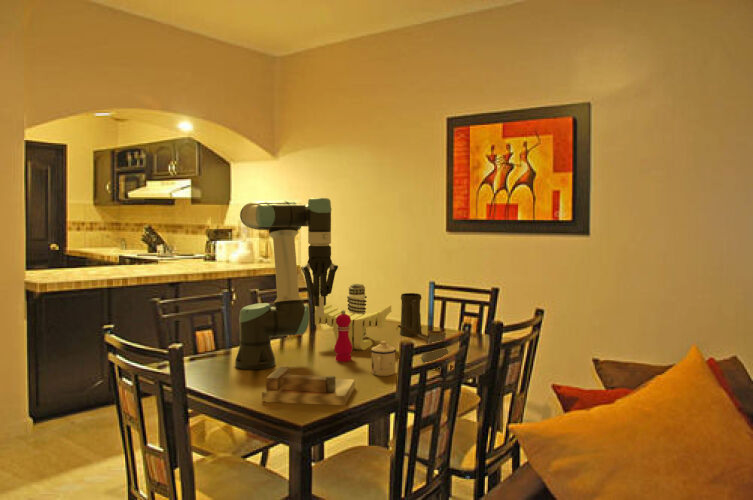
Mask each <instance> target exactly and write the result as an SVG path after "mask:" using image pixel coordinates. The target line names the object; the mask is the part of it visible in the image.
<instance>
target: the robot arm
mask: <svg viewBox="0 0 753 500" xmlns="http://www.w3.org/2000/svg"><path fill="white" fill-rule="evenodd" d="M331 203H332V202H331V199H330V198H327V197H325V198H324V197H310V198H309V199H308V200H307V203H306V204H298V203H296V202H295V201H290V200H289V201H288V200H257V201H256V200H255V201H252V202H249V203H246V204H245V205H244V206H243V207H242V208H241V210H240V212H239V213H240V214H239V217H240V220H241V223H242V224H243V225H244V226H245V227H247V228H250V229H252V230H258V231H268V236H269V237H270V238H272V241H273V257H274V268H275V270H274V272H275V284H276V299H275V300H274V301H273V306H272V305H271V303H268V302H263V303H261V302H260V303H253V304H249V305H246V306H244V307H242V308H241V309H240V310H239V317H238V318H239V319H238V322H239V348H238V349H237V354H236V356H235V360H234V361H235V362H234V363H235V365H234V366H235V368H237V367H238V368H237V369H239V368H241V369H240V370H245V369H248V370H250V371H253V370H254V371H255V370H265V369H270V368H272V367H274V366H276V357H275V354H274V351H273V348H272V343H271V338H274V337H288V336H293V337H294V336H297V335H303V334H305V332H307V329H308V327H309V323H310V309H309V305H308V304H306V303H304V299H303V298H302V297H301V296H300V292H299V278H298V265H297V264H298V263H297V251H296V242H295V241H296V240H295V239H296V238H295V237H296V236H297V235H298V234H299V230H301V228H302V227H306V228H307V231H308V233H307V234H308V235H307V236H308V237H307V241H308V243H307V244H309V245H308V247H307V248H308V249H307V250H308V251H307V252H308V253H307V255H308V259H307V264H305V265H304V266H303V265H302V266H301V267H300V270H301V271H302V273H303V276H304V280H305V283H306V284H305V285H306V289H307V293H308V295H311V296H313V305H314V307H315V311H316V315H317V316H324V306H325V305H326V303H327V297H328V296H329V295H330V294H332V292H333V291H332V290H333V285H334V281H335V276H336V273H337V270H339V269H338V268H339V266H338V265H336V264H335V263H333V260H332V258H331V257H332V246H331V245H330V244H331V243H332V205H331ZM310 271H312V273H311V272H310ZM248 370H247V371H248Z"/></svg>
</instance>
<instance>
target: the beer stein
mask: <svg viewBox="0 0 753 500" xmlns="http://www.w3.org/2000/svg"><path fill="white" fill-rule="evenodd" d="M400 300H401V307H400V308H401V312H400V326H402V327H405V328H407V329H410V330H412V331H414V332H416V333H417V334H419V335H421V336H423V335H422V334H423V331H422V323H421V322H422V319H421V316H422V315H421V301H422V295H421V294H420V293H415V292H414V293H413V292H410V293H408V292H406V293H401V295H400ZM399 328H400V327H399ZM399 335H400V336H404V337H417V336H416V335H414V334H411V333H409V332H407V331H406V330H404V329H402V328H400V330H399Z"/></svg>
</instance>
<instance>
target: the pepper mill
mask: <svg viewBox="0 0 753 500" xmlns="http://www.w3.org/2000/svg"><path fill="white" fill-rule="evenodd" d="M341 310H342V309H341ZM345 311H346V310H344V309H343V310H342V311H341V314H340V315H338V316H337V318H336V323H337V325H338V326H337V330H338V339H337V342H336V341H335V345H334V352H335V354H336V355H335V361H337V362H341V363H342V362H343V363H344V362H350V361H351V360H352V354H351V353H352V352H353V349H352V344H351V342H350V339H349V335H348V332H349V330H350V329H349V327H350V326H349V324H350V323H351V318H350V316H349V315H347V314H345V313H346V312H347V311H346V312H345Z"/></svg>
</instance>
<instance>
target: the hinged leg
mask: <svg viewBox="0 0 753 500" xmlns="http://www.w3.org/2000/svg"><path fill="white" fill-rule="evenodd" d="M335 379H336V376H334V375H328V376H321V375H307V374H306V375H304V374H303V375H302V374H291V373H290V374H287V375H285V376H284V377H283V390H291V391H306V392H322V393H326V392H328V393H333V392H335V391H336V386H335Z"/></svg>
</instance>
